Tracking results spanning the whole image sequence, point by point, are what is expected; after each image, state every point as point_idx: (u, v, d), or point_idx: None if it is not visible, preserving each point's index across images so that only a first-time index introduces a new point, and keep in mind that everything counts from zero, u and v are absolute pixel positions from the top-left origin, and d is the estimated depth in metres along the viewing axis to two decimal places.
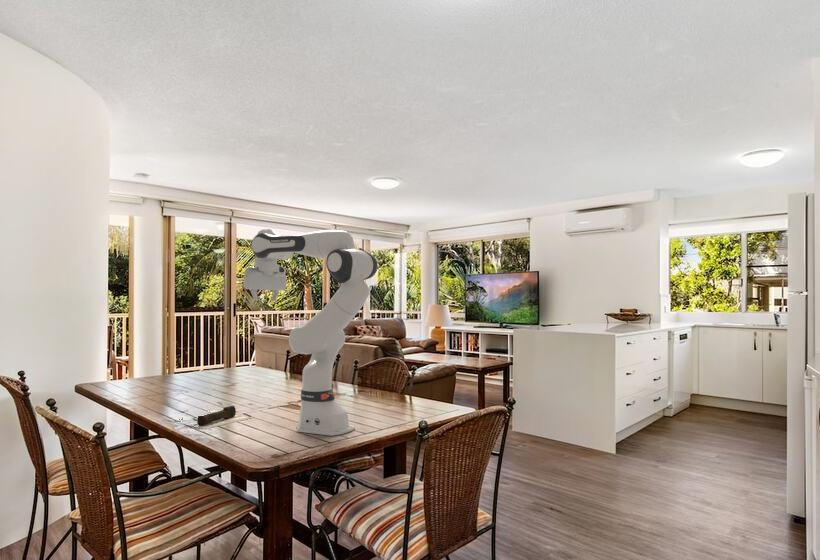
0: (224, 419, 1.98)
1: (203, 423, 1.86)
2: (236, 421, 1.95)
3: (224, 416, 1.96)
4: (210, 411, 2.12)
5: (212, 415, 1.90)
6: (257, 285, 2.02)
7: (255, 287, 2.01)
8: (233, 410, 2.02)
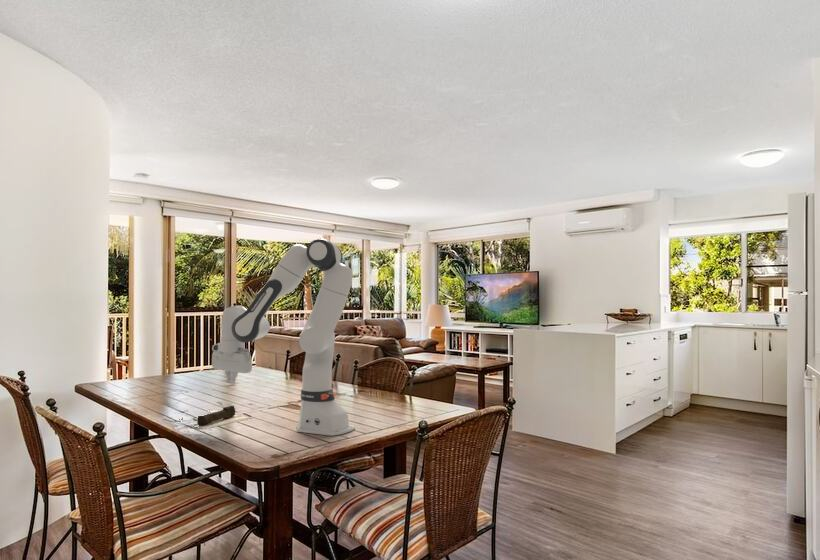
0: (224, 419, 1.98)
1: (203, 423, 1.86)
2: (236, 421, 1.95)
3: (224, 416, 1.96)
4: (210, 411, 2.12)
5: (212, 415, 1.90)
6: None
7: None
8: (233, 410, 2.02)
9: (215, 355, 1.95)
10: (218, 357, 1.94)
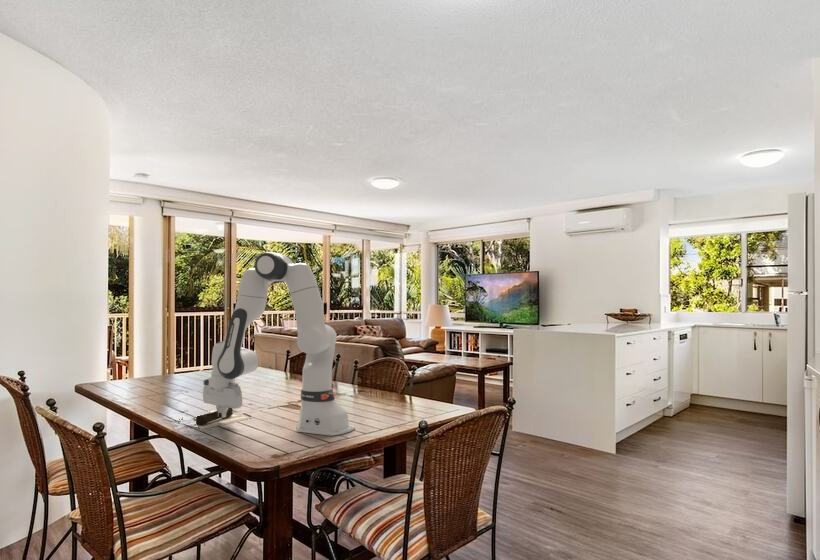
0: (224, 419, 1.98)
1: (202, 422, 1.86)
2: (236, 421, 1.95)
3: None
4: (210, 411, 2.12)
5: (210, 414, 1.91)
6: None
7: None
8: (230, 409, 2.02)
9: (206, 389, 1.97)
10: (209, 391, 1.96)
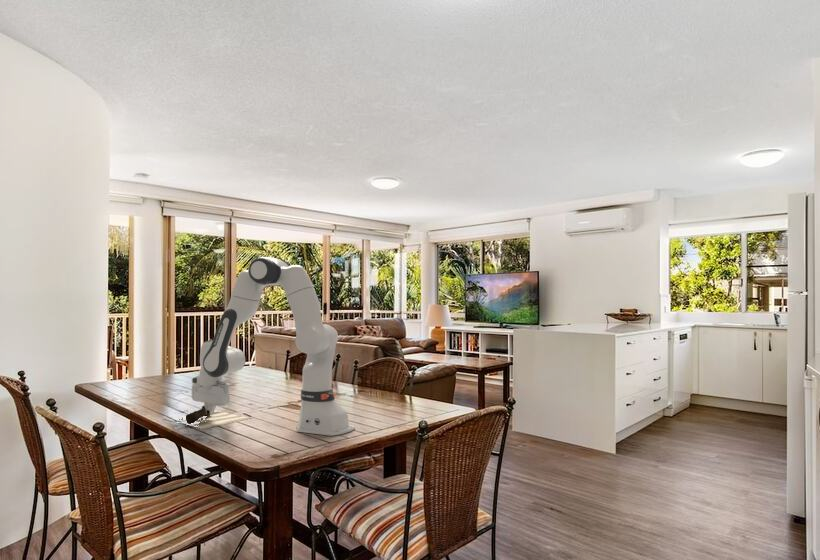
0: (224, 419, 1.98)
1: (194, 419, 1.88)
2: (236, 421, 1.95)
3: None
4: None
5: (198, 411, 1.93)
6: None
7: None
8: None
9: (194, 387, 2.01)
10: (197, 389, 2.00)
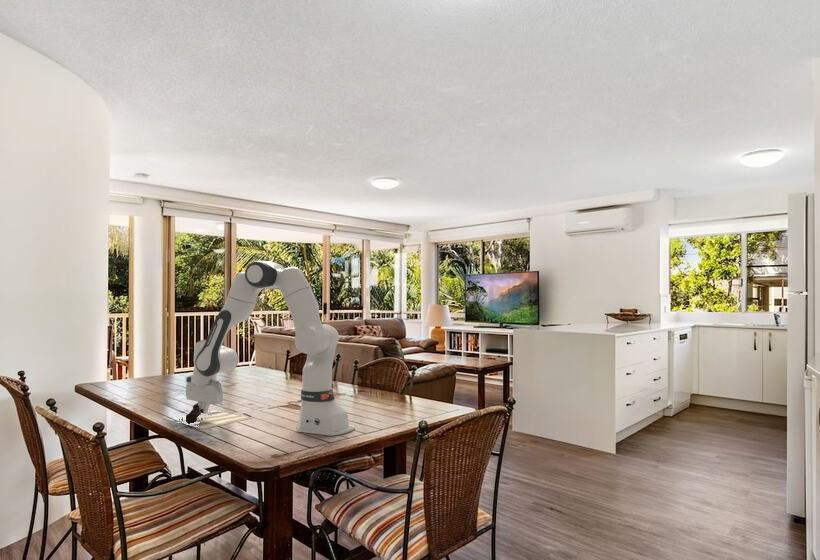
0: (224, 419, 1.98)
1: (195, 419, 1.90)
2: (236, 421, 1.95)
3: (199, 412, 2.00)
4: (210, 411, 2.12)
5: (196, 411, 1.94)
6: None
7: None
8: None
9: (189, 386, 2.03)
10: (191, 388, 2.03)
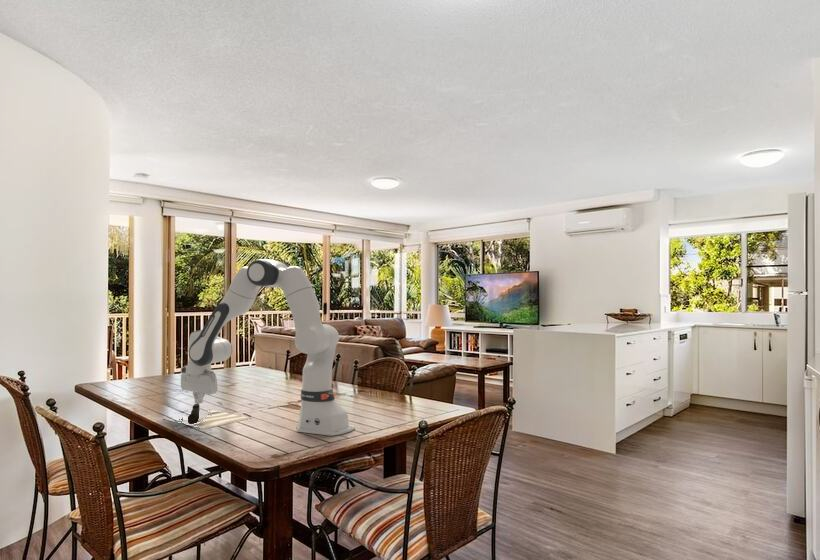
0: (224, 419, 1.98)
1: (197, 420, 1.90)
2: (236, 421, 1.95)
3: None
4: (210, 411, 2.12)
5: (197, 412, 1.95)
6: None
7: None
8: None
9: (183, 377, 2.05)
10: (186, 379, 2.05)
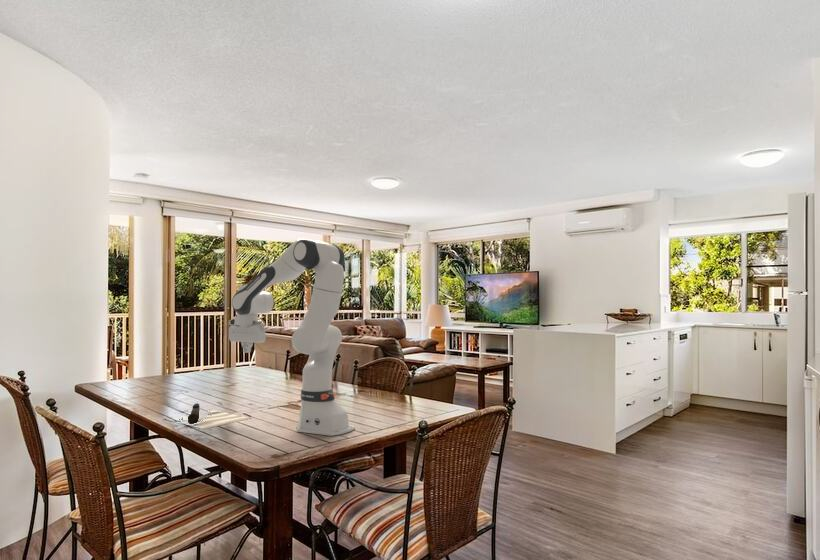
0: (224, 419, 1.98)
1: (197, 420, 1.90)
2: (236, 421, 1.95)
3: None
4: (210, 411, 2.12)
5: (197, 412, 1.95)
6: None
7: None
8: None
9: (232, 329, 2.19)
10: (234, 330, 2.18)
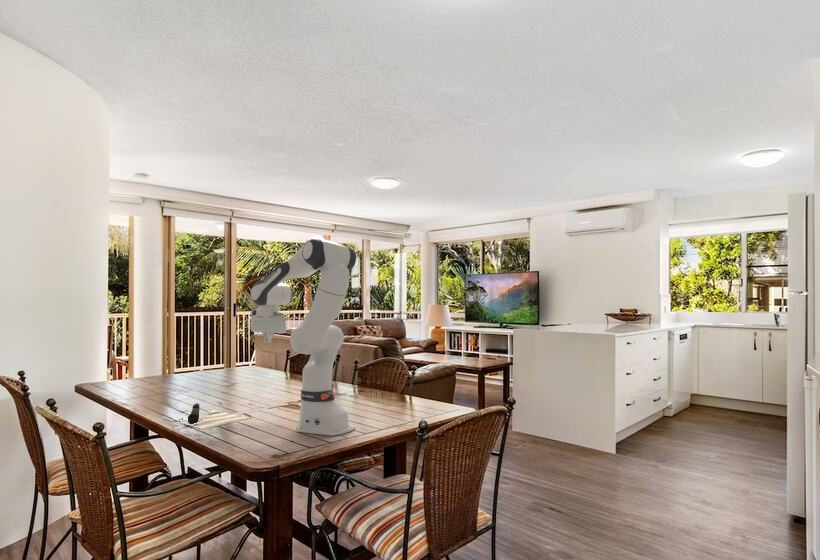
0: (224, 419, 1.98)
1: (197, 420, 1.90)
2: (236, 421, 1.95)
3: None
4: (210, 411, 2.12)
5: (197, 412, 1.95)
6: None
7: None
8: None
9: (253, 319, 2.25)
10: (256, 321, 2.25)
